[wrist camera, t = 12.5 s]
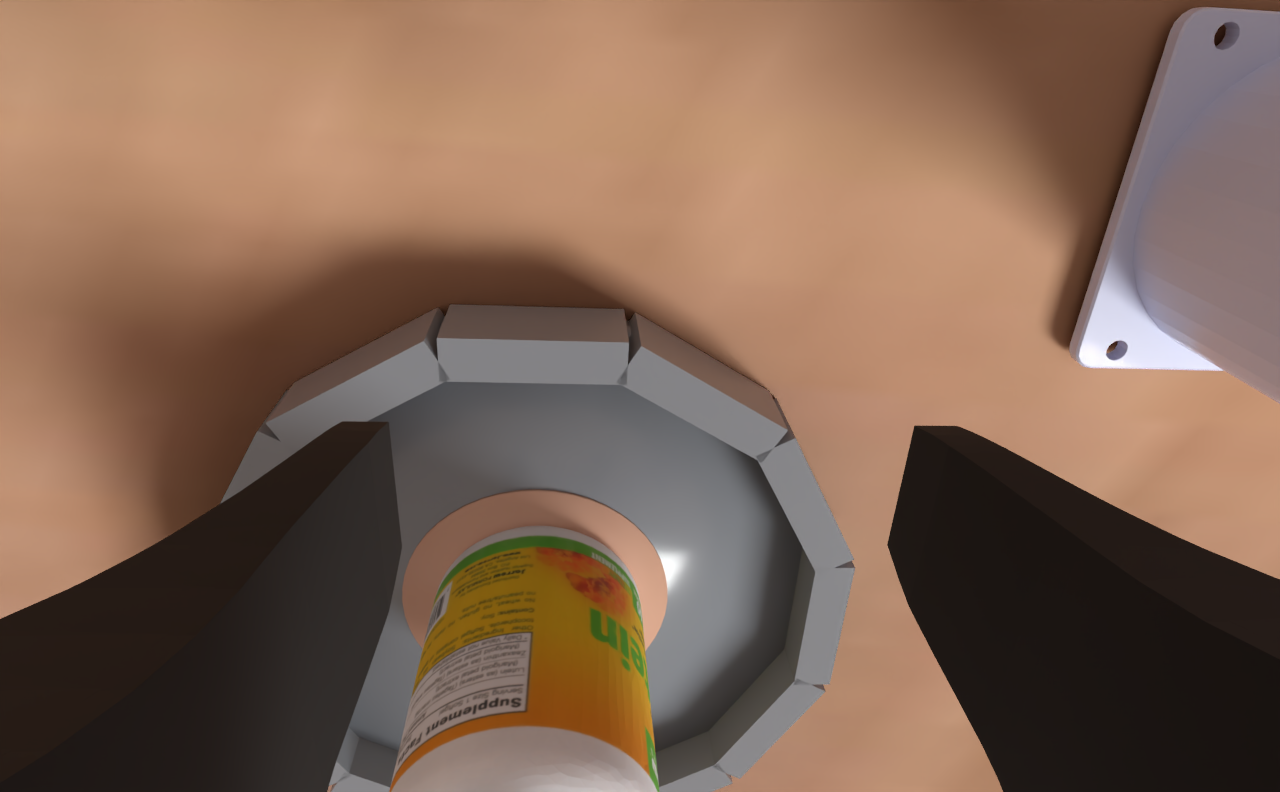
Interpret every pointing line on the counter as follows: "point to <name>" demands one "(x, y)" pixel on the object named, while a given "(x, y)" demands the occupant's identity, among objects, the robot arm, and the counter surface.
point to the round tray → (594, 512)
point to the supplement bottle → (531, 673)
